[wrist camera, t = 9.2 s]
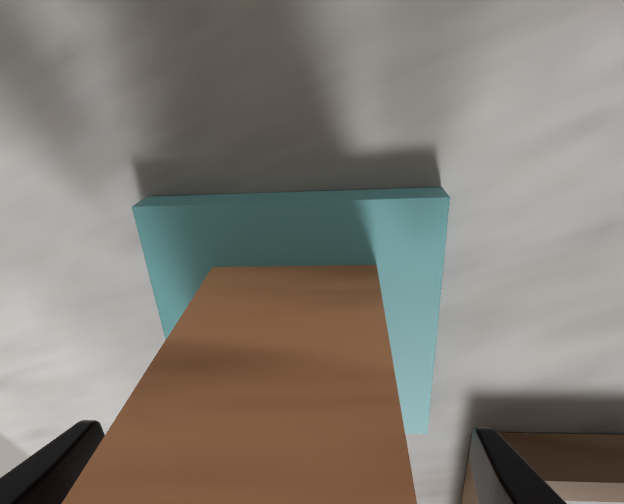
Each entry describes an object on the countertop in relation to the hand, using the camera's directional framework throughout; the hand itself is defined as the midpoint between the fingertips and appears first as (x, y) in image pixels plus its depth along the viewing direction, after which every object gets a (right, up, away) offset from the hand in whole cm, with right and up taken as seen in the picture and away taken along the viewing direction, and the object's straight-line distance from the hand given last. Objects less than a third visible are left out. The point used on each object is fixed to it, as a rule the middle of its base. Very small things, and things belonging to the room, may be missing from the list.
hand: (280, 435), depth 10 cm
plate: (0, +2, +4) cm, 5 cm away
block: (0, +2, +4) cm, 4 cm away
